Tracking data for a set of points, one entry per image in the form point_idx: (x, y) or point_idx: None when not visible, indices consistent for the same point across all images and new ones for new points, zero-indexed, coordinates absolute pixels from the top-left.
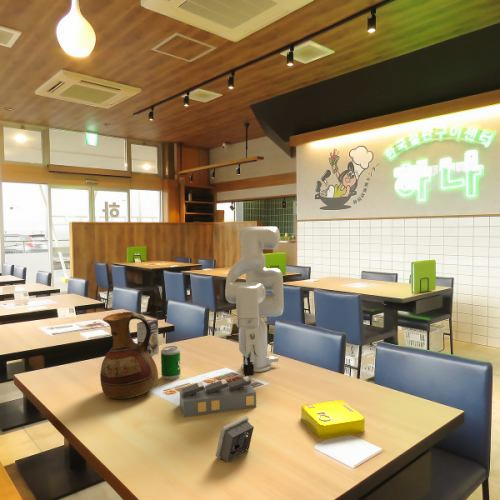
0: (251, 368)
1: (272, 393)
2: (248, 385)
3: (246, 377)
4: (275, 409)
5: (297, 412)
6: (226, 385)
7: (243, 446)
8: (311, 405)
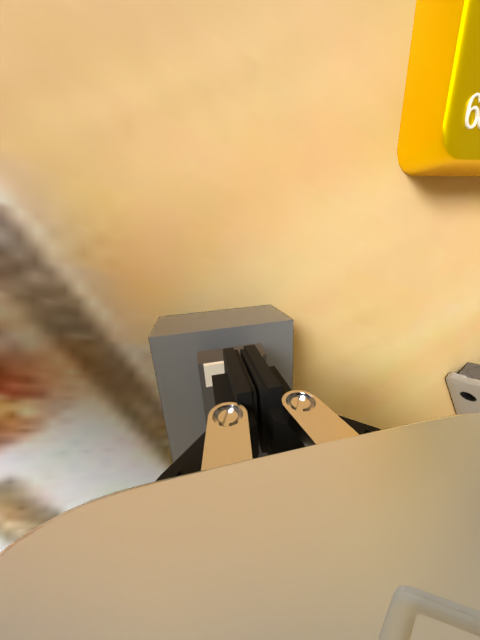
0: (286, 385)
1: (151, 200)
2: (204, 340)
3: (217, 372)
4: (311, 241)
5: (361, 164)
6: (266, 454)
7: (462, 373)
8: (472, 99)
